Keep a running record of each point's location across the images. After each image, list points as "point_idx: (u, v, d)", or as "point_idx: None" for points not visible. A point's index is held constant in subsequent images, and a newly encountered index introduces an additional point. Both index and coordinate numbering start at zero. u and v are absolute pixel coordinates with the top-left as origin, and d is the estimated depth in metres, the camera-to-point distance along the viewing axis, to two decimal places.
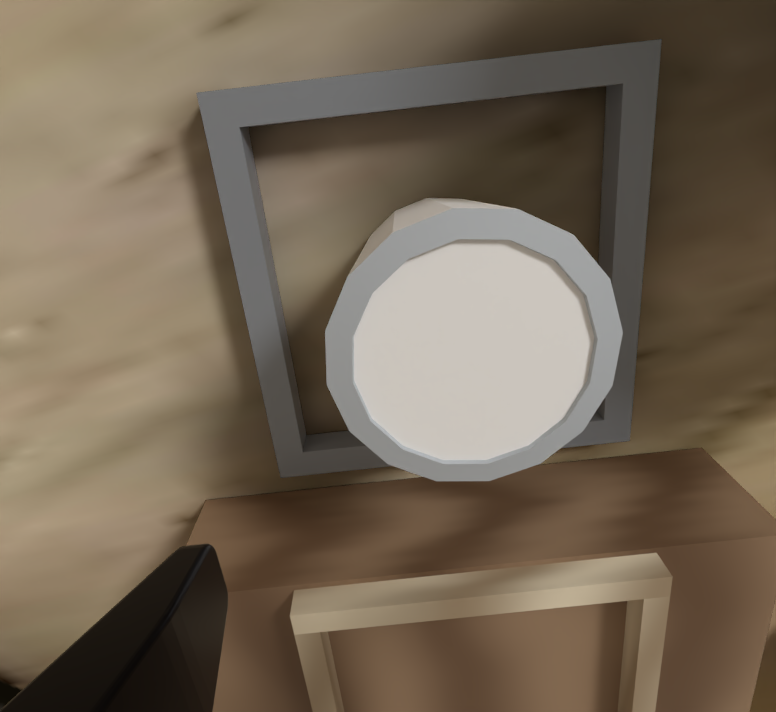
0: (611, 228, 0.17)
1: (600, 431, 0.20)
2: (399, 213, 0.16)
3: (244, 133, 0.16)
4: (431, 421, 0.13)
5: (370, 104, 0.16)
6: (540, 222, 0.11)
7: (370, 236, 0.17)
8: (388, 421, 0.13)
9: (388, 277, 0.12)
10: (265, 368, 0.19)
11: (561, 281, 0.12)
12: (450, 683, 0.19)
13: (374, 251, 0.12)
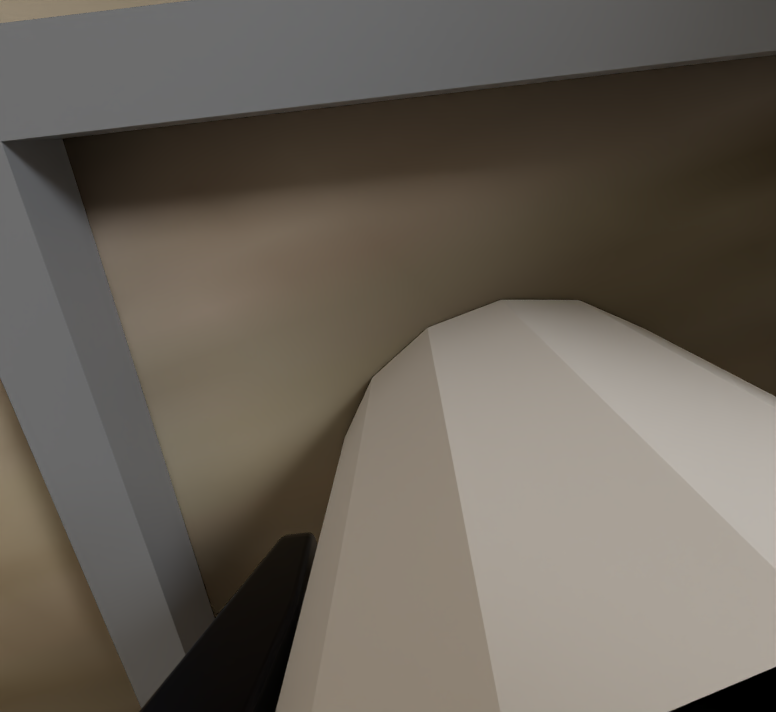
0: None
1: None
2: (452, 376, 0.06)
3: (35, 156, 0.06)
4: None
5: (369, 76, 0.05)
6: None
7: (371, 397, 0.07)
8: None
9: None
10: (142, 664, 0.08)
11: None
12: None
13: None
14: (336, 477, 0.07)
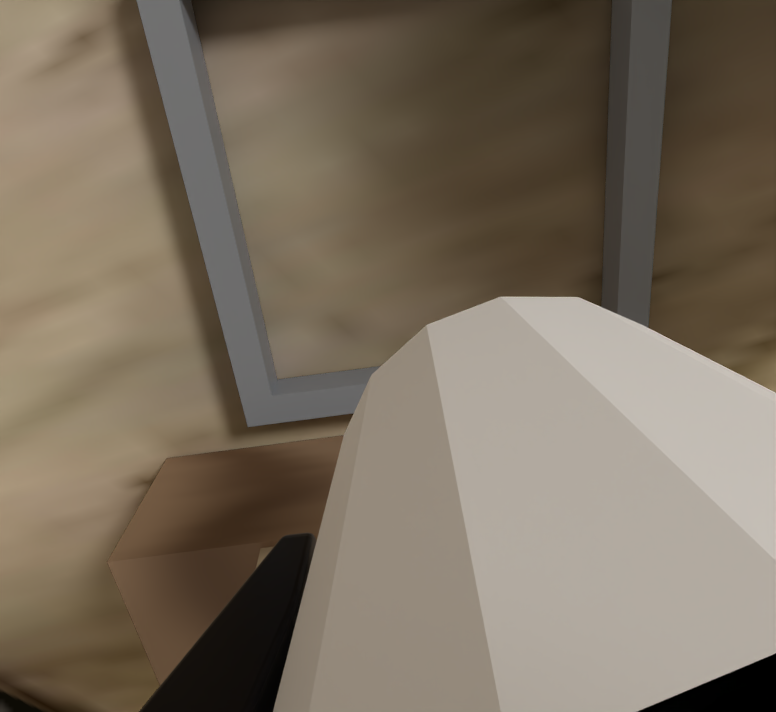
0: (621, 116, 0.15)
1: None
2: (451, 372, 0.06)
3: (184, 2, 0.14)
4: None
5: None
6: None
7: (370, 394, 0.07)
8: None
9: None
10: (223, 295, 0.16)
11: None
12: None
13: None
14: (335, 474, 0.07)
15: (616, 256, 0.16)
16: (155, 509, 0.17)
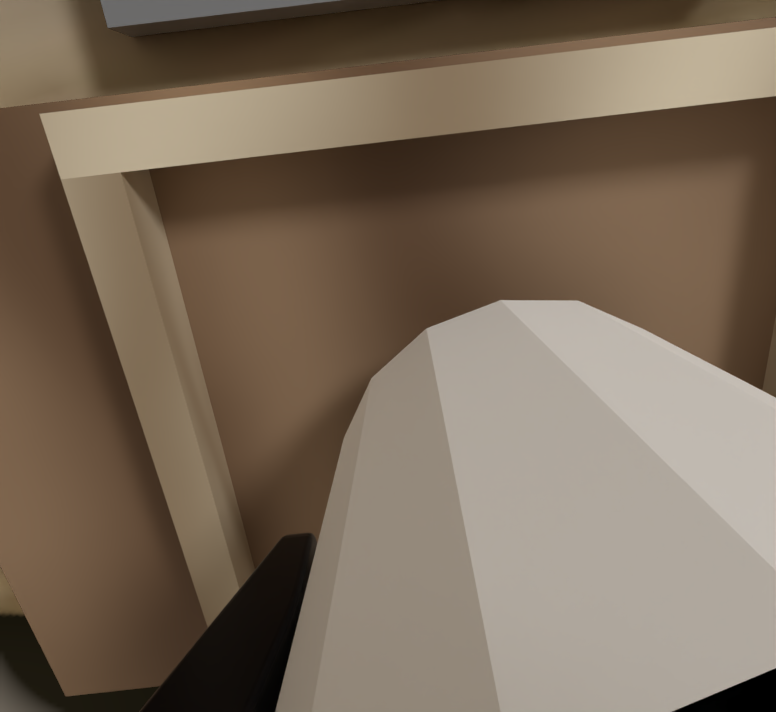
0: None
1: None
2: (451, 377, 0.06)
3: None
4: None
5: None
6: None
7: (370, 398, 0.07)
8: None
9: None
10: None
11: None
12: None
13: None
14: (335, 478, 0.07)
15: None
16: None
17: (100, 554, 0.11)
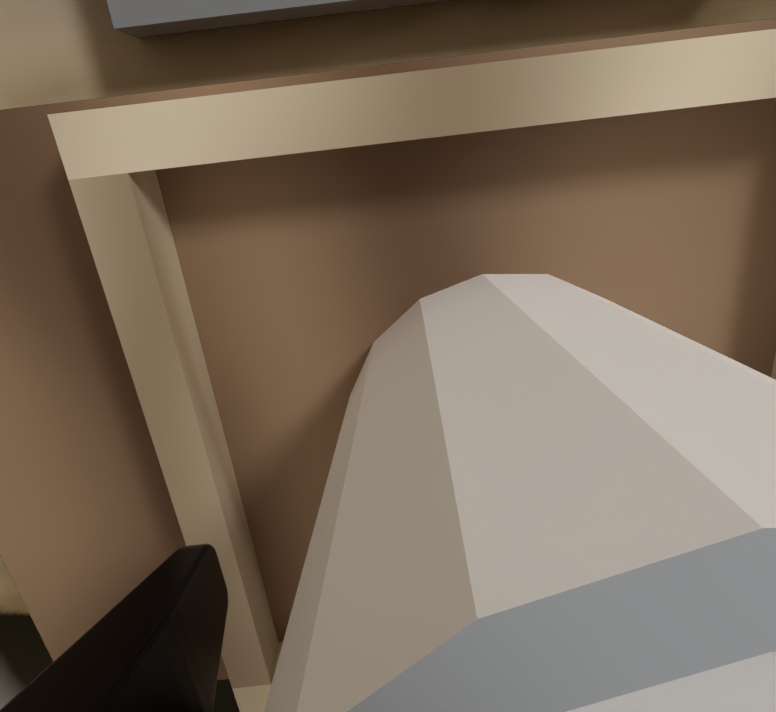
0: None
1: None
2: (437, 329, 0.07)
3: None
4: None
5: None
6: None
7: (372, 356, 0.09)
8: None
9: None
10: None
11: None
12: None
13: (397, 678, 0.03)
14: (343, 423, 0.09)
15: None
16: None
17: (105, 554, 0.11)
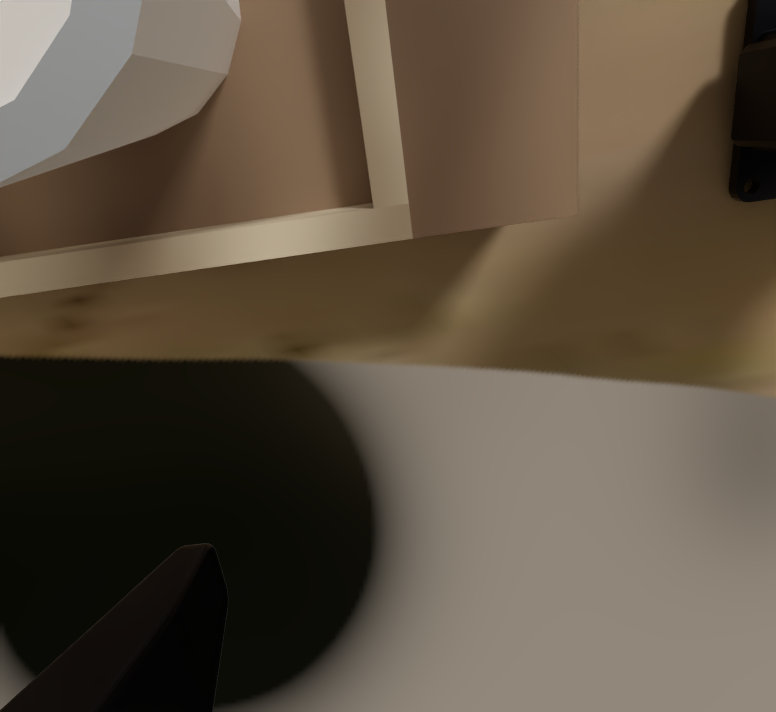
0: None
1: None
2: None
3: None
4: None
5: None
6: None
7: None
8: None
9: None
10: None
11: None
12: None
13: None
14: None
15: None
16: None
17: None
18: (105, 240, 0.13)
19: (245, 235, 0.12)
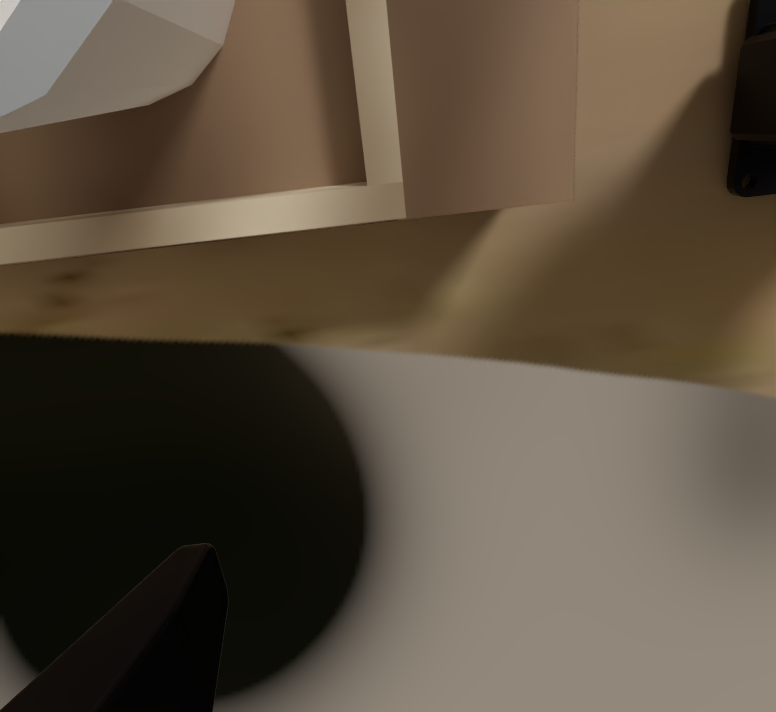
0: None
1: None
2: None
3: None
4: None
5: None
6: None
7: None
8: None
9: None
10: None
11: None
12: None
13: None
14: None
15: None
16: None
17: None
18: (95, 211, 0.13)
19: (237, 209, 0.12)
